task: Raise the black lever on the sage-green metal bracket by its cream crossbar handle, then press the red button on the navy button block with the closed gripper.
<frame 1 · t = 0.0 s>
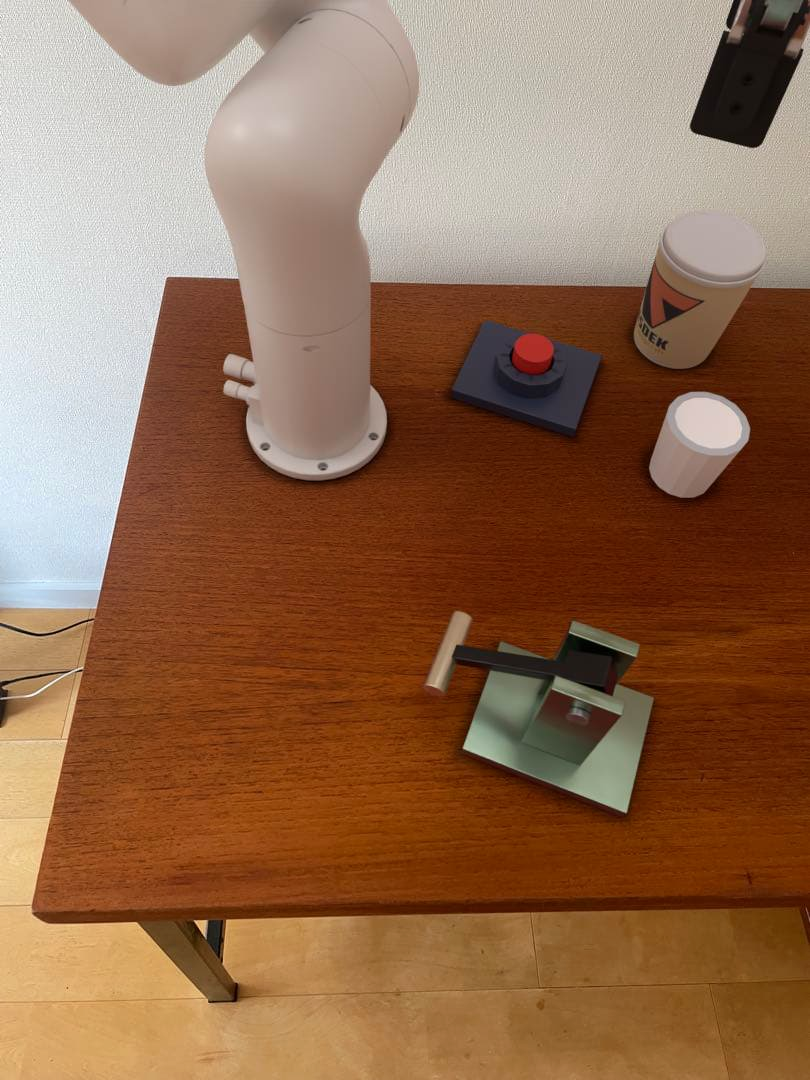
hand: (741, 81, 38), 37 cm above the table, tool pointing down, fingers open, 9 cm apart
coffee cup: (670, 342, 80), on the table
lever: (520, 665, 53), point 8 cm above the table, hinge at -25.0°
button: (532, 354, 74), point 3 cm above the table, slide at 0.1 cm
white cylinder: (679, 473, 72), on the table
button block: (526, 380, 77), on the table
bracket: (556, 727, 59), on the table
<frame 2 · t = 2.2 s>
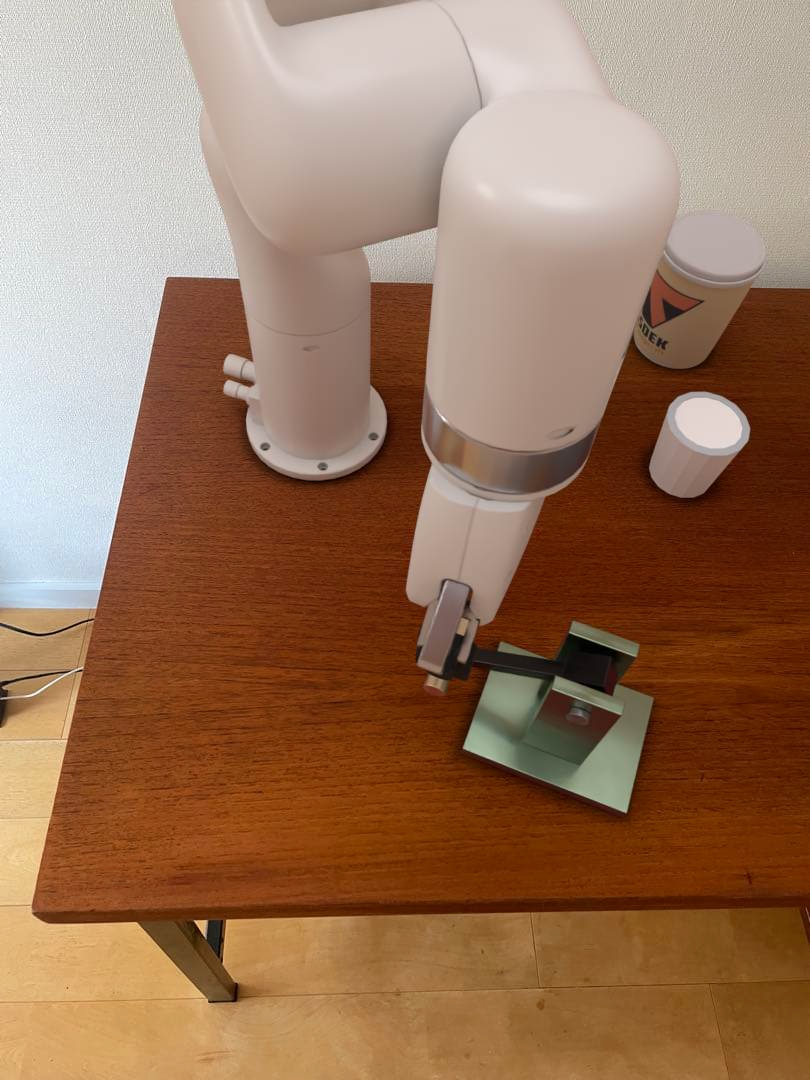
hand: (469, 599, 49), 14 cm above the table, tool pointing down, fingers open, 9 cm apart
nothing on the table moved.
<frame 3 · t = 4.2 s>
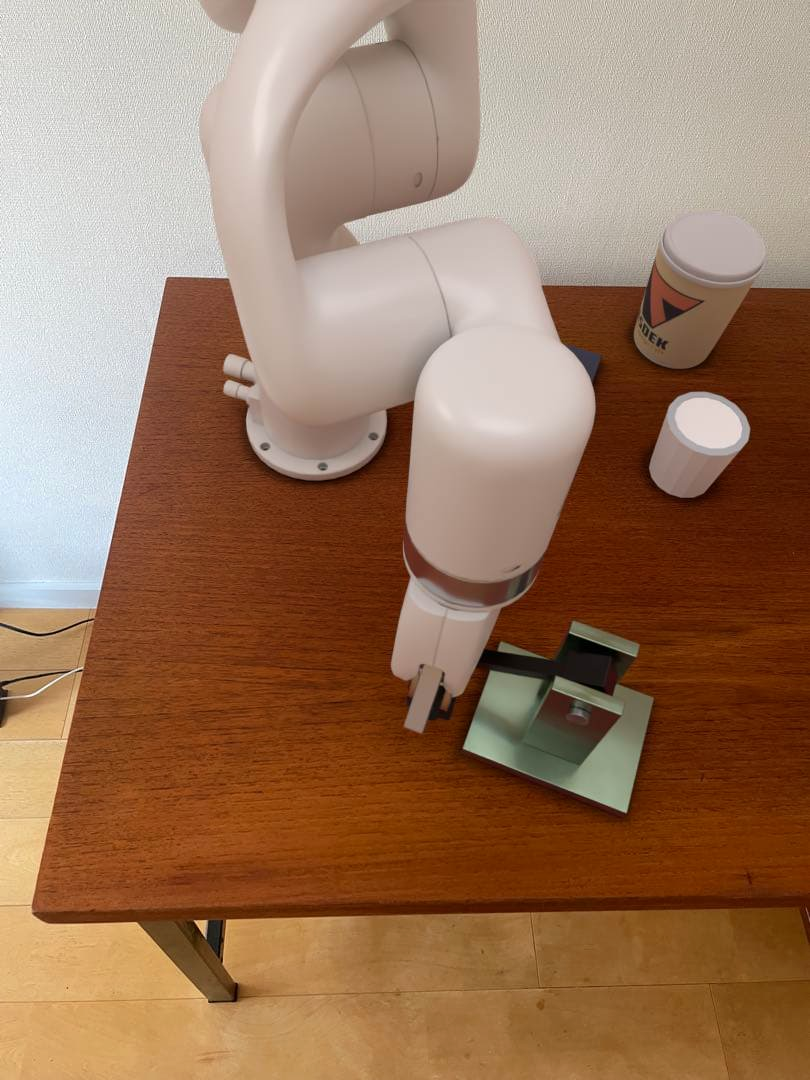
hand: (445, 666, 57), 3 cm above the table, tool pointing down, fingers closed on lever, 6 cm apart
lever: (520, 665, 53), point 8 cm above the table, hinge at -25.0°, touching gripper
everything else where it was.
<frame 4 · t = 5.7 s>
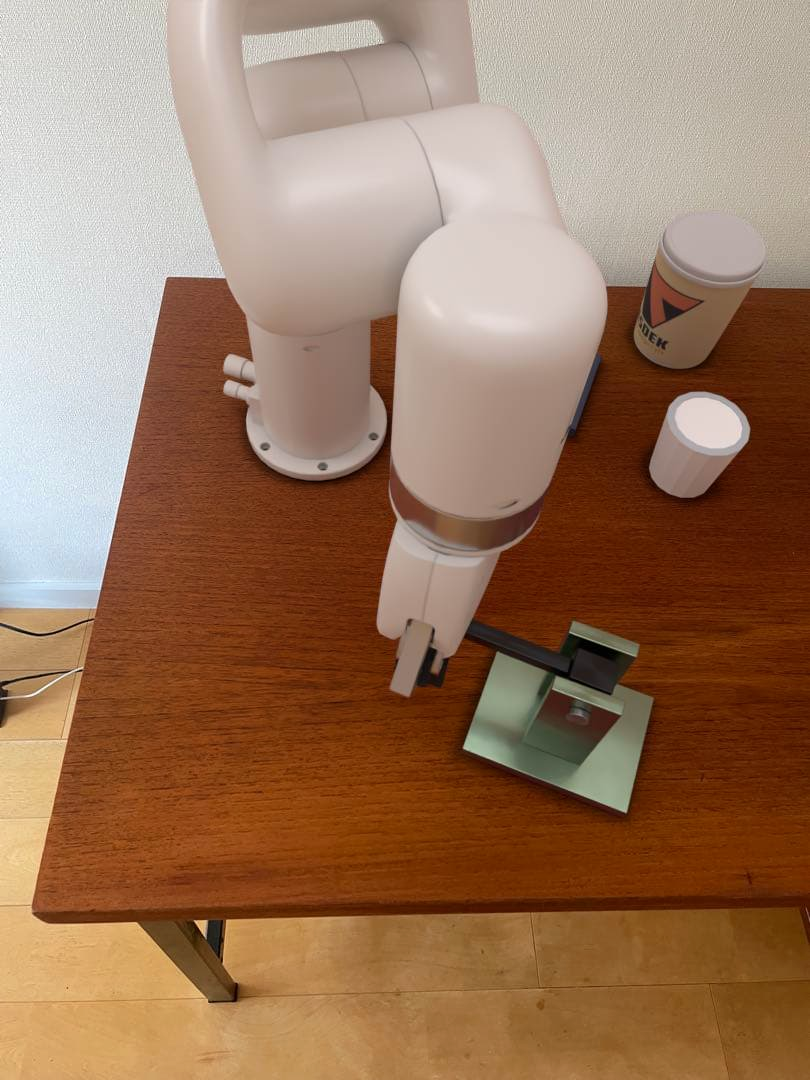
hand: (438, 630, 53), 9 cm above the table, tool pointing down, fingers closed on lever, 6 cm apart
lever: (519, 649, 51), point 10 cm above the table, hinge at 3.5°, touching gripper
everything else where it was.
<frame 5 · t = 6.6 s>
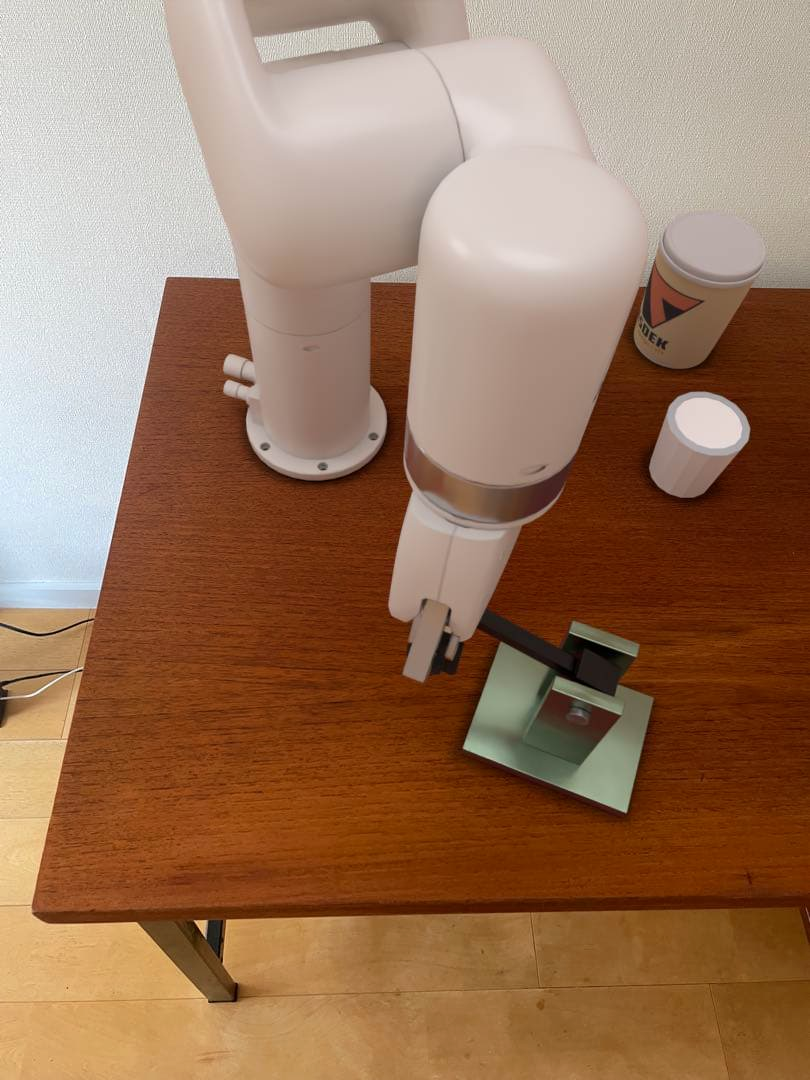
hand: (451, 615, 51), 11 cm above the table, tool pointing down, fingers closed on lever, 6 cm apart
lever: (526, 642, 50), point 11 cm above the table, hinge at 18.4°, touching gripper
everything else where it was.
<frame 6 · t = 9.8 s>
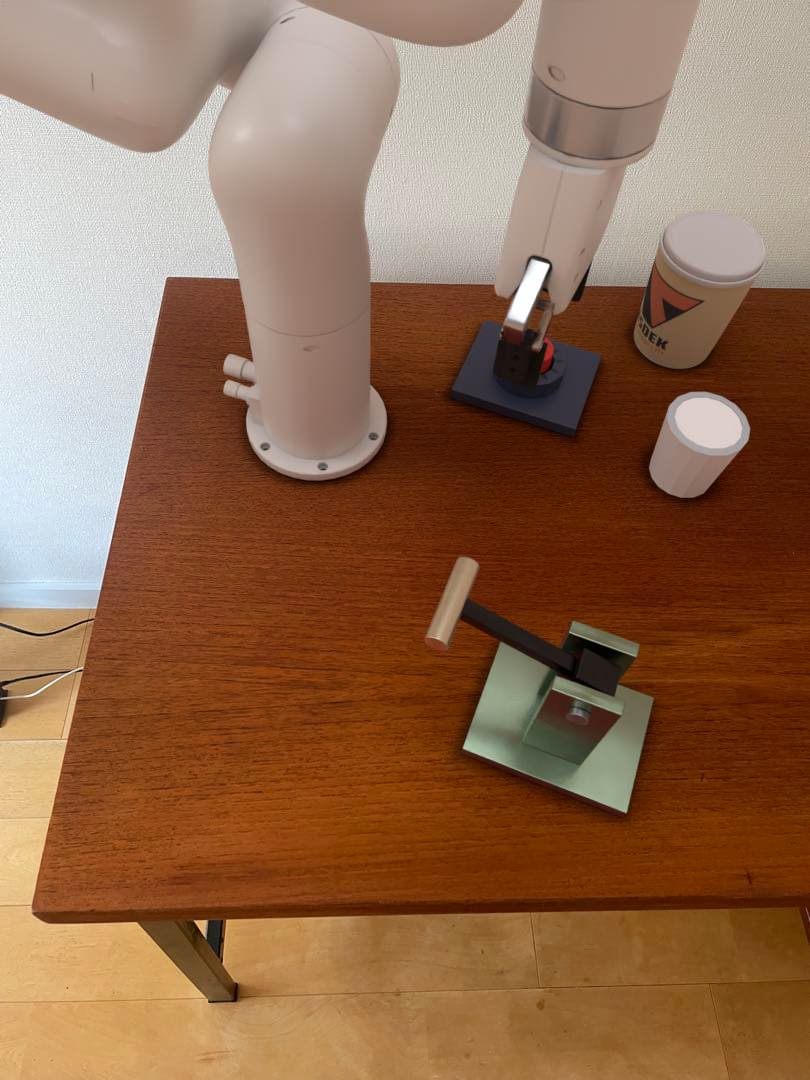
hand: (538, 335, 58), 15 cm above the table, tool pointing down, fingers open, 9 cm apart
lever: (526, 642, 50), point 11 cm above the table, hinge at 18.2°
everything else where it was.
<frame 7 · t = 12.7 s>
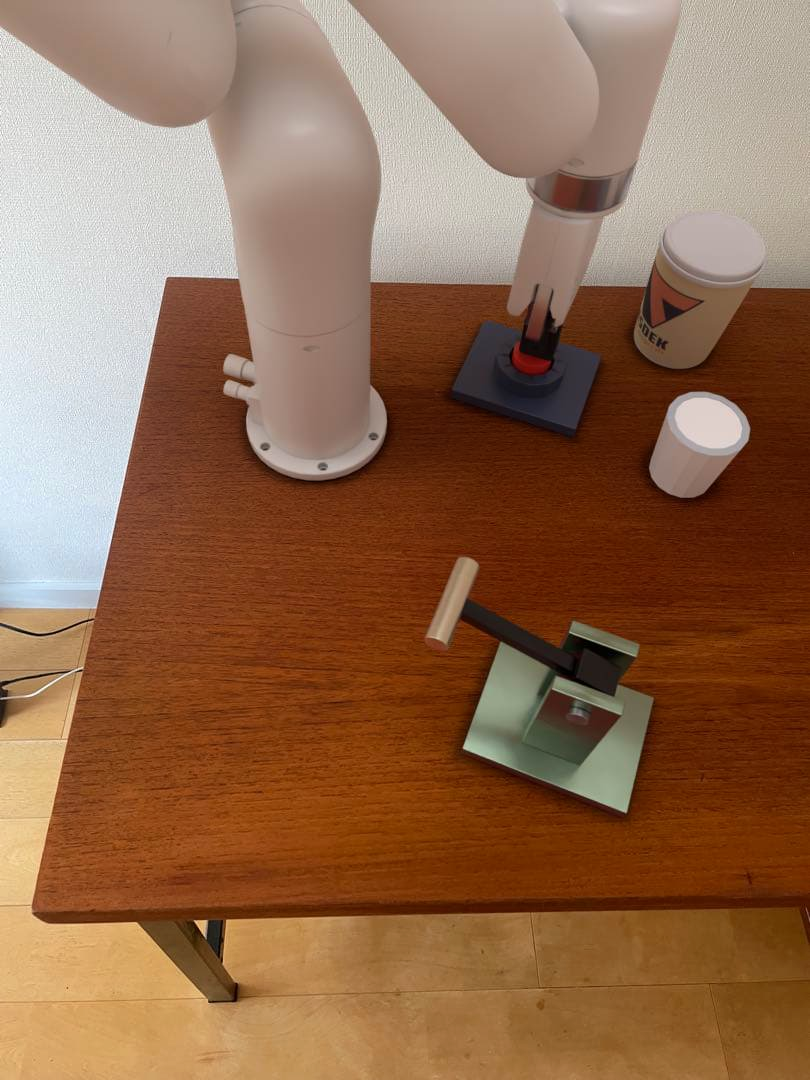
hand: (537, 350, 73), 4 cm above the table, tool pointing down, fingers closed
button: (531, 358, 74), point 3 cm above the table, slide at -0.5 cm, touching gripper
everything else where it was.
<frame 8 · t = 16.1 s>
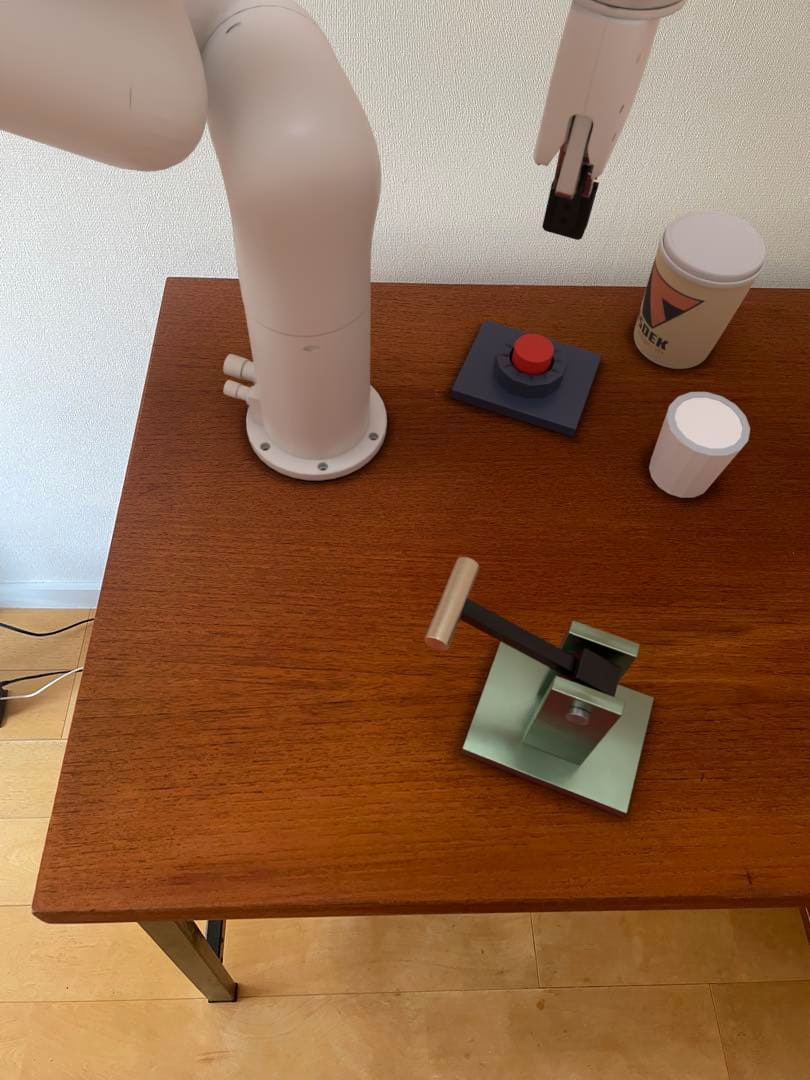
hand: (564, 228, 62), 17 cm above the table, tool pointing down, fingers closed
button: (532, 354, 74), point 3 cm above the table, slide at 0.1 cm
everything else where it was.
at the end: lever at +18° (first picture: -25°); button pushed in 1.0 cm at the most during the clip, back to where it started at the end; button slide at 0.1 cm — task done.
